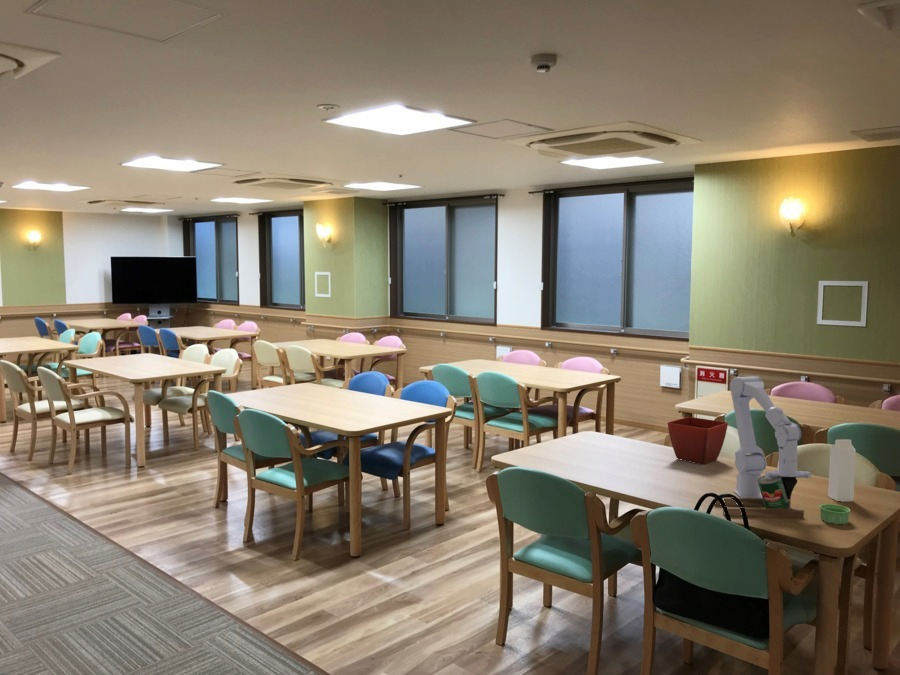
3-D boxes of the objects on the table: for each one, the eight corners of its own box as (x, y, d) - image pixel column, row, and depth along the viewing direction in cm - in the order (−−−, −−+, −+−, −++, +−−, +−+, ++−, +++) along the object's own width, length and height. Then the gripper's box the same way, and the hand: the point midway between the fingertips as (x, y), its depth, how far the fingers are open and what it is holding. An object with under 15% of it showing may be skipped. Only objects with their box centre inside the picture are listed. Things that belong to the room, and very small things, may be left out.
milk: (853, 501, 259) (857, 441, 257) (837, 501, 259) (840, 441, 257) (843, 496, 265) (846, 437, 263) (827, 496, 265) (830, 437, 263)
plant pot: (665, 459, 318) (666, 421, 316) (687, 452, 330) (689, 416, 329) (705, 468, 303) (707, 428, 302) (727, 460, 316) (729, 422, 315)
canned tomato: (784, 501, 251) (776, 472, 250) (793, 509, 243) (785, 478, 243) (762, 507, 252) (753, 478, 251) (770, 515, 244) (762, 485, 243)
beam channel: (713, 504, 256) (713, 496, 256) (788, 505, 254) (788, 497, 254) (724, 515, 243) (724, 507, 243) (803, 517, 242) (804, 509, 241)
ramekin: (837, 515, 244) (838, 503, 244) (856, 524, 235) (856, 511, 235) (813, 517, 243) (813, 504, 242) (831, 526, 234) (831, 513, 233)
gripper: (770, 462, 243) (770, 502, 243) (814, 461, 242) (814, 501, 242) (762, 457, 250) (762, 496, 250) (805, 457, 249) (805, 496, 249)
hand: (787, 498), depth 247 cm, fingers closed, pressing on canned tomato
